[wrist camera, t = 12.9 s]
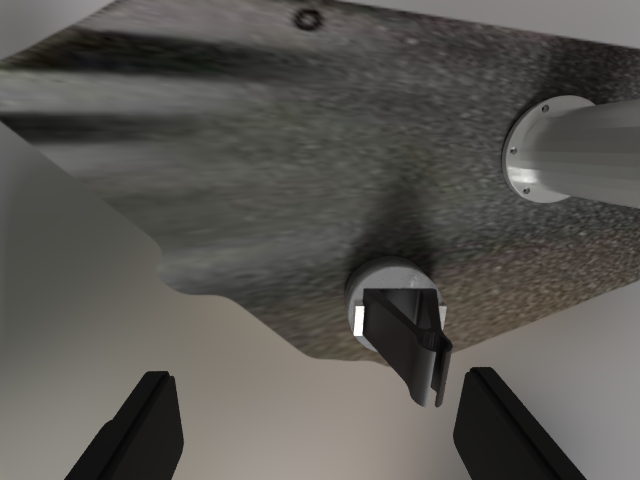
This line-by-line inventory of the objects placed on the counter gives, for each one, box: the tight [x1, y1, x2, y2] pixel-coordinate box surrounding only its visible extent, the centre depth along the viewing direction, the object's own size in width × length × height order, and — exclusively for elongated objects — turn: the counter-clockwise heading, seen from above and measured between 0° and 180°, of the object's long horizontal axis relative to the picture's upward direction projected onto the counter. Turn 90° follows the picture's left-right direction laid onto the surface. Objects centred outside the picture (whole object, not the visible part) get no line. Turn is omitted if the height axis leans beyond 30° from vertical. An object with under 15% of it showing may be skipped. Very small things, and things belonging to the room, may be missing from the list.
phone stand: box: [362, 288, 453, 408], centre depth 32 cm, size 9×6×12 cm, turn 88°
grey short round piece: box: [344, 256, 447, 352], centre depth 40 cm, size 12×12×7 cm
